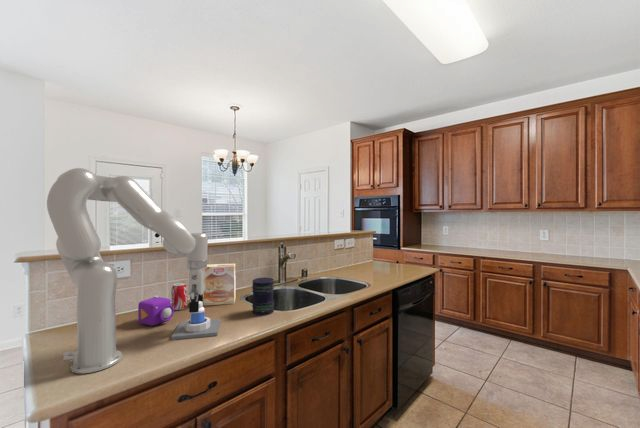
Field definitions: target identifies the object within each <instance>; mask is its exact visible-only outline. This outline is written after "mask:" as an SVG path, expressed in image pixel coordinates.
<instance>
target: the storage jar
mask: <svg viewBox="0 0 640 428" xmlns="http://www.w3.org/2000/svg"><path fill="white" fill-rule="evenodd" d="M274 282H275V281H274V278H272V277H258V278H254V279H252V305H251V306H252V314H253V315H255V316H259V317H261V316H263V317H264V316H269V315H271V314H273V313H274V311H275V309H274V308H275V301H274V291H275V286H274V285H275V284H274Z"/></svg>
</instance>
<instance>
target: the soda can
mask: <svg viewBox="0 0 640 428" xmlns="http://www.w3.org/2000/svg"><path fill="white" fill-rule="evenodd" d="M187 285H188V284H187V283H186V282H184V281H183V282H174V283H173V284H172V287H171V291H170V292H171V296H170V297H171V299H170V301H171V306H172V307H173V308H174V311H183V310H185V309H186V308H188V305H189V303H188V302H189V301H188V300H189V298H188V296H189V287H188V286H187Z"/></svg>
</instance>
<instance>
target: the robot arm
mask: <svg viewBox="0 0 640 428" xmlns="http://www.w3.org/2000/svg"><path fill="white" fill-rule="evenodd" d="M141 186H142V185H140V184H139V183H138V182H137V181H135V180H134V179H133V178H132V177H130V176H126V175H118V176H115V177H111V176H102V175H96V174H94V172H93V171H91V170H89V169H86V168H83V167H75V168H71V169H69V170H66V171H65V172H63V173H61V174H60V175H59V176H58V177H57V179H56V181H55V182H54V183H53V184H52V185H51V187H50V189H49V191H48V195H47V198H46V209H47V212H48V216H49V218H50V221H51V223H52V225H53V229H54V231H55V233H56V235H57V238H56V242H55V246H56V250H57V251H58V252H57V253H58V255H59V257H60V259H61V260H62V263H63V265H64V267H65V270H66V271H67V273H68V275H69V278H70V279H71V281H72V283H74V284H75V285H76V287H77V295H76V296H77V299H76V336H77V337H76V343H77V344H76V345H77V346H76V350H74V351H73V350H71V351H65V352H63V354H62V361H63V362H69V361H70V362H71V361H72V363H71V364H70V371H71V372H72V373H74V374H78V375H79V374H91V373H95V372H99V371H101V370H102V371H103V370H106V369H108V368H110V367H113V366H114V365H116V364H117V363H118V362H120V361H121V360H122V358H123V352H122V351H120V350H118V349H117V326H116V325H117V319H116V318H117V317H116V313H117V312H116V311H117V310H116V300H117V299H116V294H117V287H118V274H117V271H116V269H115V268H114V267H113V266H112V265H111V264H110V263H108V262H106V261H104V260H103V258H102V256H101V253H100V251H101V246H102V243H101V239H100V237H99V234H98V233H97V231H96V229H95V227H94V225H93V222H92V221H91V218H90V214H89V212H88V209H87V201H97V202H98V201H99V202H108V203H110V202H112V203H117V204H118V205H120V207H122V208H123V209H124V210H125V211H126V212H127V213H128V214H129V215H130V216H131V217H132V218H133V219H134V220H135V222H137V223H138V224H139V225H141V226H142V227H144V228H146V229H147V230H148V229H149V230H150V231H152V232H154V233H156V234H158V235H159V236H160V237H162V238H163V239H162V247H163V248H164V249H165V251H167V252H169V253H172V254H175V255H177V254H178V255H181V256H186V270H189V272H188V296H189V301H188V302H189V303H188V305H189V308H188V309H189V310H188V312H189V314H190V313H191V312H198V311H199V301H202V302H203V303H204V291H205V289H206V283H205V269H206V268H207V264H208V249H209V248H208V246H209V244H208V239H209V237H208V234H206V233H205V232H190V231H189V230H188V229H187V228H186V227H185V226H184V225H183V224H182V223H181V222H180V221H179V220H178V219H176V218H174V217H173V216H172V214H171V215H170V214H169V213H168V212H167V211H166V210H164V209H163V208H162V207H161V206H160V205H159V204H158V203H157V202H156V201H155V200H154V199H153V198H152V197H151V196H150V195H149V194H148V193H147V192H146V191H145V189H143V188H142V187H141Z"/></svg>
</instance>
